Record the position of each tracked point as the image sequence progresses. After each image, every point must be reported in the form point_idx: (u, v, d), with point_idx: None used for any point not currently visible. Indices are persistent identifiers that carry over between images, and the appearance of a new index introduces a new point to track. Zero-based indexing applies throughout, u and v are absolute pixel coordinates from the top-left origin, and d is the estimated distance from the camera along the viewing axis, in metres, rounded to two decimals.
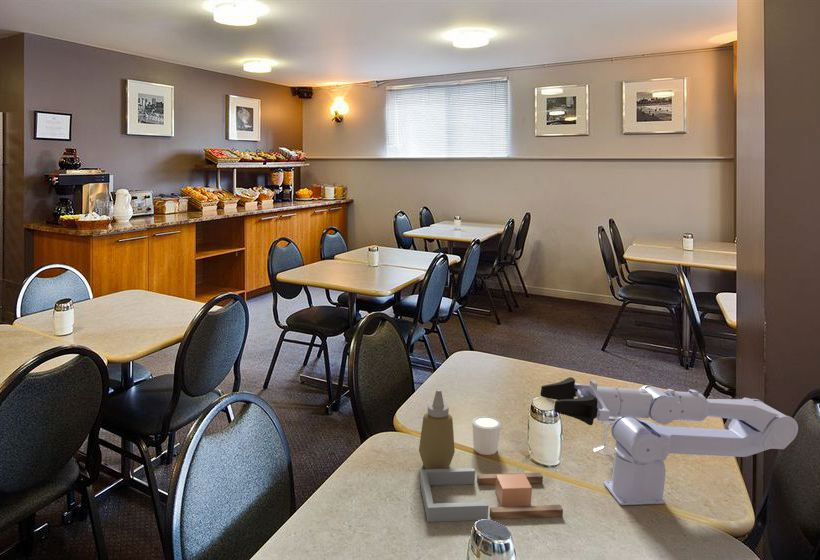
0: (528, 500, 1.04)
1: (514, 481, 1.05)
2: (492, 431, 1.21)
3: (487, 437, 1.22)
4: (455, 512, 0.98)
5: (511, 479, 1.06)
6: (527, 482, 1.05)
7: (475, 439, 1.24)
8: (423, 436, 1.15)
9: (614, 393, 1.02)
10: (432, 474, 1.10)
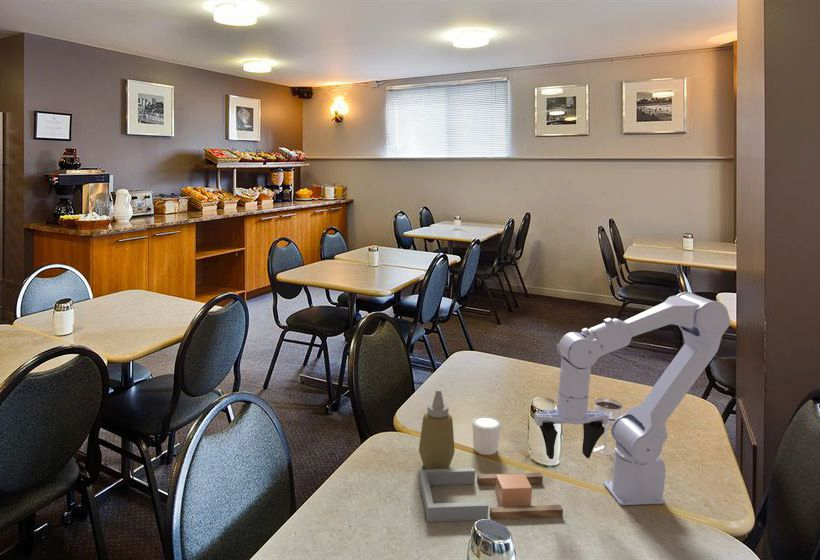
0: (528, 500, 1.04)
1: (514, 481, 1.05)
2: (492, 431, 1.21)
3: (487, 437, 1.22)
4: (455, 512, 0.98)
5: (511, 479, 1.06)
6: (527, 482, 1.05)
7: (475, 439, 1.24)
8: (423, 436, 1.15)
9: None
10: (432, 474, 1.10)
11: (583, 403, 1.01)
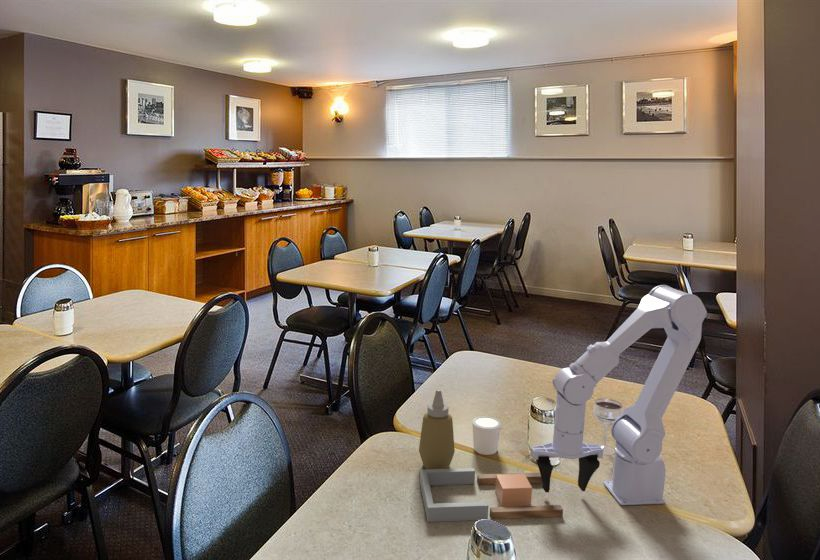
0: (528, 500, 1.04)
1: (515, 481, 1.05)
2: (492, 431, 1.21)
3: (487, 437, 1.22)
4: (455, 512, 0.98)
5: (511, 479, 1.06)
6: (527, 482, 1.05)
7: (475, 439, 1.24)
8: (423, 436, 1.15)
9: None
10: (432, 474, 1.10)
11: (578, 438, 1.02)
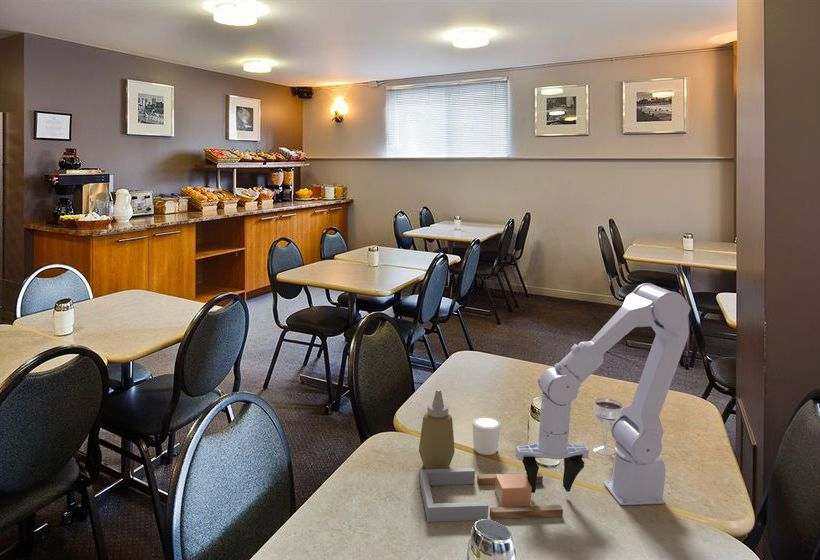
0: (528, 500, 1.04)
1: (514, 481, 1.05)
2: (492, 431, 1.21)
3: (487, 437, 1.22)
4: (455, 512, 0.98)
5: (511, 479, 1.06)
6: (527, 482, 1.05)
7: (475, 439, 1.24)
8: (423, 436, 1.15)
9: None
10: (432, 474, 1.10)
11: (563, 438, 1.02)
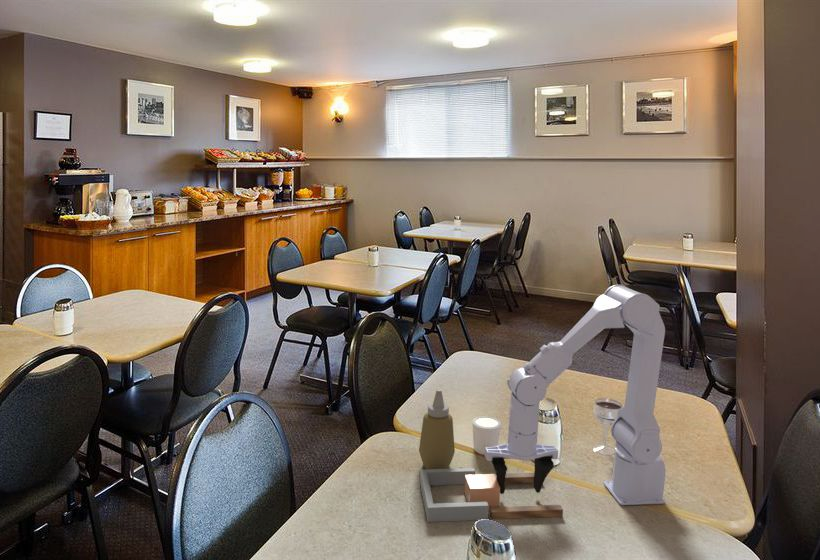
0: (496, 500, 1.03)
1: (483, 481, 1.05)
2: (492, 431, 1.21)
3: (487, 437, 1.22)
4: (455, 512, 0.98)
5: (480, 480, 1.05)
6: (496, 482, 1.04)
7: (475, 439, 1.24)
8: (423, 436, 1.14)
9: None
10: (432, 474, 1.10)
11: (532, 439, 1.01)
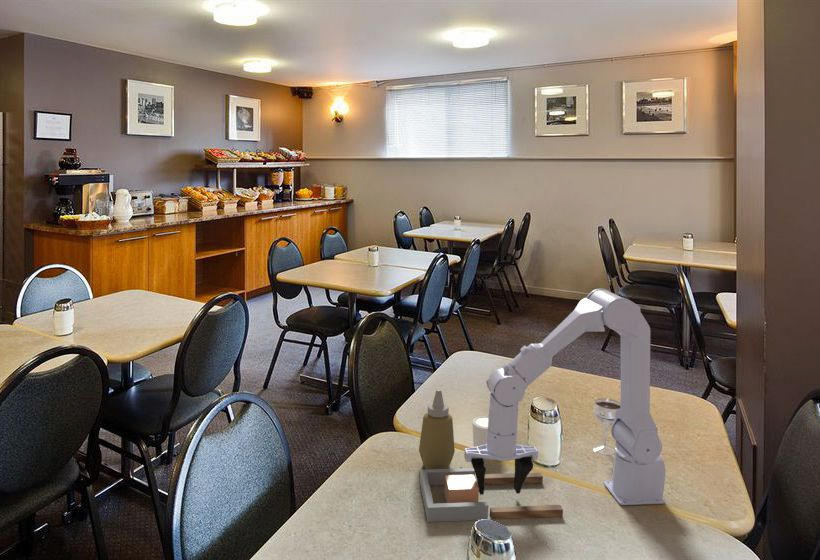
0: (475, 501, 1.03)
1: (462, 482, 1.04)
2: None
3: None
4: (455, 512, 0.98)
5: (459, 480, 1.05)
6: (475, 483, 1.04)
7: (475, 439, 1.24)
8: (423, 436, 1.15)
9: None
10: (432, 474, 1.10)
11: (510, 440, 1.01)
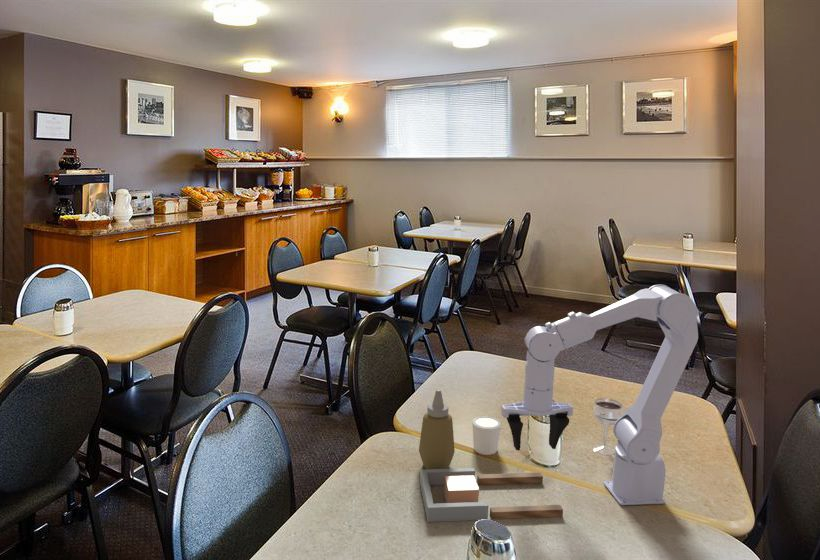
0: None
1: (462, 483, 1.04)
2: (492, 431, 1.21)
3: (487, 437, 1.22)
4: (455, 512, 0.98)
5: (459, 481, 1.05)
6: (475, 484, 1.04)
7: (475, 439, 1.24)
8: (423, 436, 1.14)
9: None
10: (432, 474, 1.10)
11: (547, 395, 1.03)
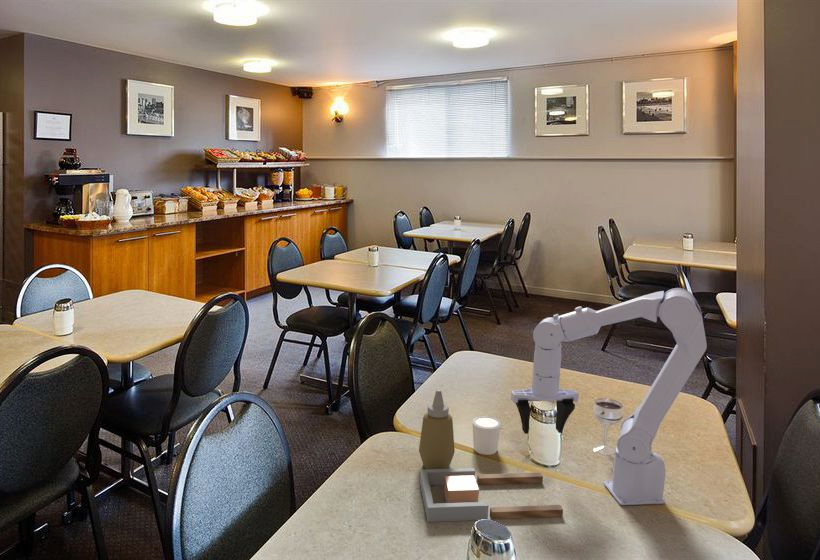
0: None
1: (462, 483, 1.04)
2: (492, 431, 1.21)
3: (487, 437, 1.22)
4: (455, 512, 0.98)
5: (459, 481, 1.05)
6: (475, 484, 1.04)
7: (475, 439, 1.24)
8: (423, 436, 1.14)
9: None
10: (432, 474, 1.10)
11: (555, 382, 1.10)
